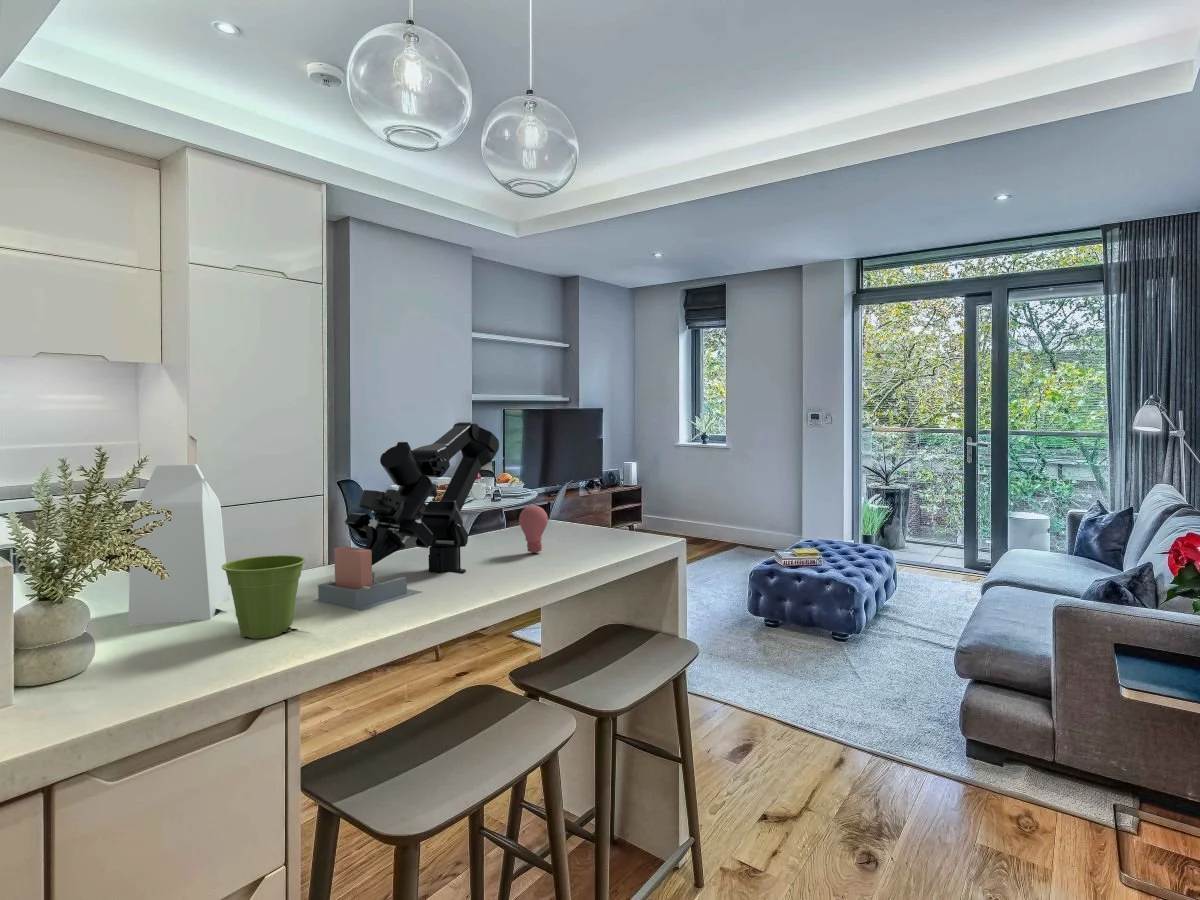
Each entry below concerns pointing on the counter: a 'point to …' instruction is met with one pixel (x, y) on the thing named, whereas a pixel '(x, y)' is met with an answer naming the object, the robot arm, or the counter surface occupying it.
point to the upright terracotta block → (353, 567)
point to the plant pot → (264, 593)
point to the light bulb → (533, 526)
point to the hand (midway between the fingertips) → (363, 567)
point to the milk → (180, 550)
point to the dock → (364, 594)
